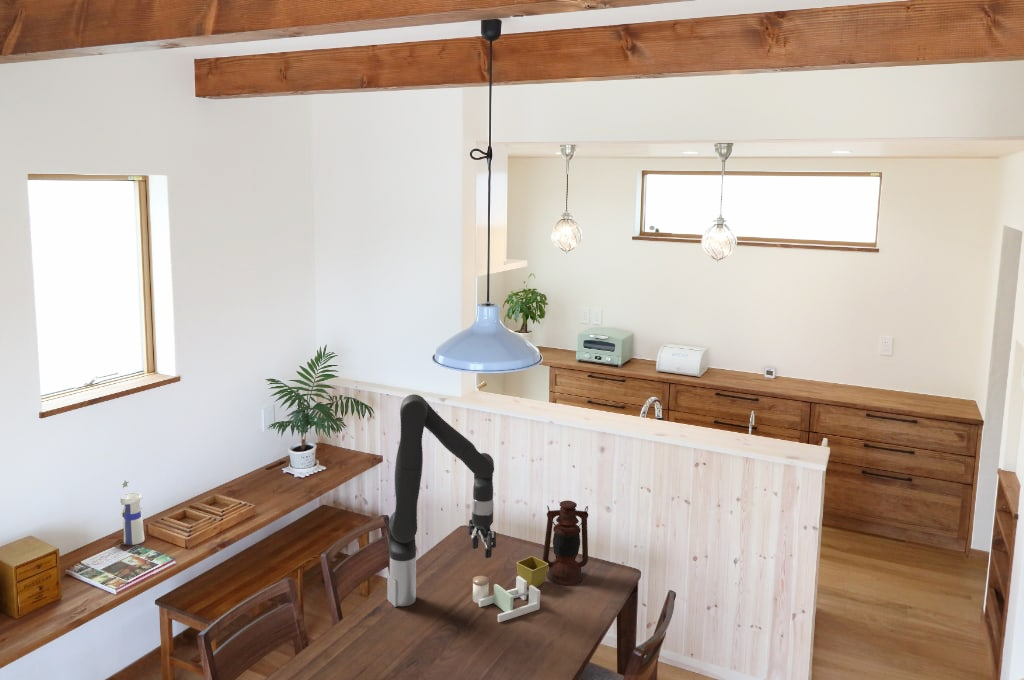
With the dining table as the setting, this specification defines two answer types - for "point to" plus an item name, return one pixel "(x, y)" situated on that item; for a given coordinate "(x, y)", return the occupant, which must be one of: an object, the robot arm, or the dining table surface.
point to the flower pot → (532, 571)
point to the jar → (480, 588)
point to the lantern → (566, 544)
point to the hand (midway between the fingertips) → (481, 552)
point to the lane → (520, 588)
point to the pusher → (505, 598)
